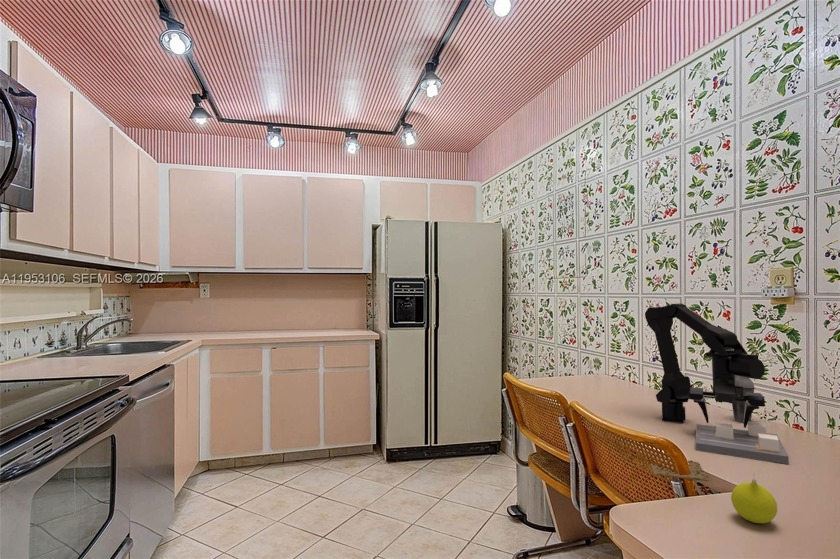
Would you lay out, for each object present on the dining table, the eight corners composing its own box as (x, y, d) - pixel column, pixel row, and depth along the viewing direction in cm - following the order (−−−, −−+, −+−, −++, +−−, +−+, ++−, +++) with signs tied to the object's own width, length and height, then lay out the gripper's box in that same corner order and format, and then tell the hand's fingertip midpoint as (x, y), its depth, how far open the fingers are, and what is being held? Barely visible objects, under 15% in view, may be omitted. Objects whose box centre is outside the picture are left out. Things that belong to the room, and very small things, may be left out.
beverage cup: (761, 424, 142) (758, 363, 143) (736, 423, 144) (733, 363, 145) (749, 418, 150) (746, 360, 150) (725, 417, 151) (723, 360, 152)
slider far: (749, 435, 126) (748, 424, 126) (747, 431, 129) (747, 421, 129) (766, 437, 124) (766, 426, 124) (764, 433, 127) (764, 423, 127)
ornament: (753, 532, 80) (751, 477, 80) (723, 513, 87) (721, 463, 87) (788, 529, 81) (785, 475, 81) (755, 510, 88) (753, 461, 88)
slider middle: (716, 436, 125) (716, 426, 125) (716, 432, 129) (715, 422, 129) (733, 438, 123) (733, 428, 123) (732, 434, 126) (732, 424, 127)
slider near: (760, 448, 115) (759, 437, 115) (758, 444, 118) (757, 433, 118) (779, 451, 113) (778, 440, 113) (777, 447, 116) (776, 435, 116)
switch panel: (695, 450, 121) (695, 442, 121) (696, 430, 138) (696, 423, 138) (788, 464, 110) (788, 455, 110) (777, 441, 127) (777, 433, 127)
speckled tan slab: (646, 458, 117) (646, 455, 117) (699, 464, 112) (698, 460, 113) (652, 476, 106) (652, 472, 106) (710, 483, 101) (710, 479, 101)
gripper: (686, 374, 129) (688, 427, 129) (765, 380, 119) (768, 438, 119) (687, 369, 139) (689, 418, 138) (761, 374, 128) (764, 427, 128)
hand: (725, 425), depth 131 cm, fingers open, 9 cm apart
